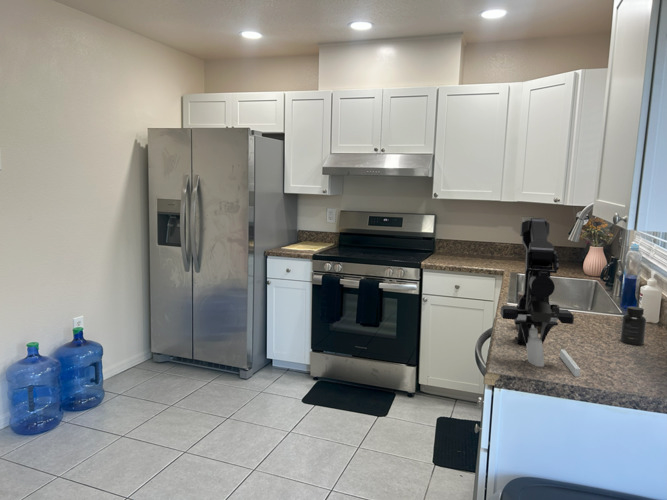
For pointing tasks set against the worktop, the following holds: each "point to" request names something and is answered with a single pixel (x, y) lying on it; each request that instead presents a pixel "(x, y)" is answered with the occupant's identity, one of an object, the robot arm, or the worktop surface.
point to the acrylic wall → (570, 363)
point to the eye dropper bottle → (534, 348)
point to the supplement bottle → (633, 326)
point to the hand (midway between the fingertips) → (533, 343)
